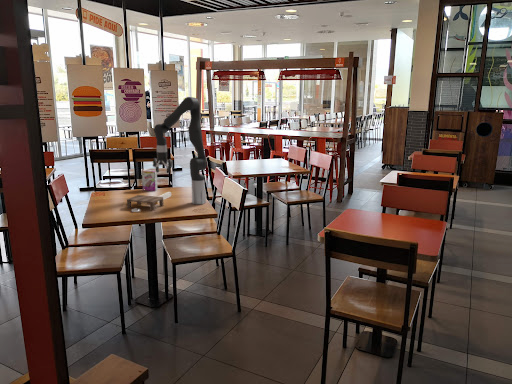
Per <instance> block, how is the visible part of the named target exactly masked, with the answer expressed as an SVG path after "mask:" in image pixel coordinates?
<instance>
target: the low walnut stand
mask: <svg viewBox="0 0 512 384" xmlns="http://www.w3.org/2000/svg"><path fill="white" fill-rule="evenodd" d="M158 201H159V202H158ZM155 202H158V205H159V207H164V206H165V205H164V204H165V203H164V200H163V197H157V196H154V195H153V196H152V195H144V194H143V195H142V194H137V195H135V196H132V197H129V198H127V199H126V208H127V209H133V208H132V203H136V204H137V205H141V204H142V203H143V204H147V203H150V204H149V207H150V212H151V211H152V212H153V211H155V209H156V207H155V205H156V204H154V203H155Z"/></svg>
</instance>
